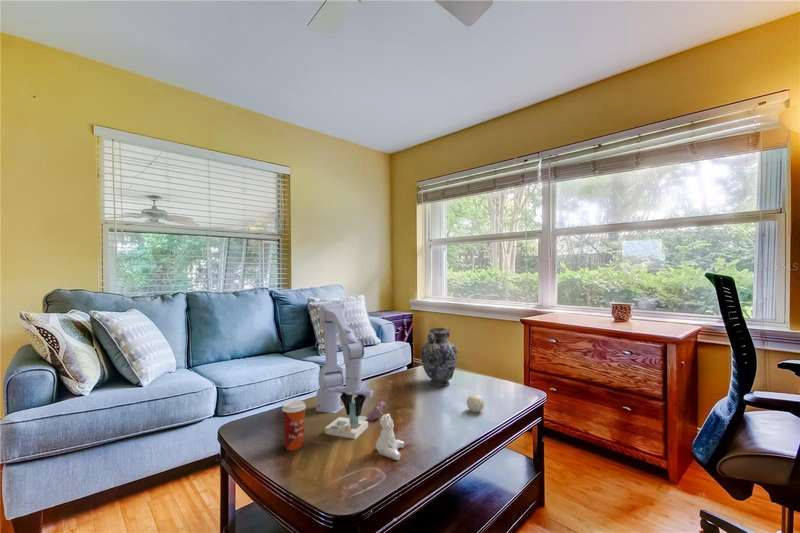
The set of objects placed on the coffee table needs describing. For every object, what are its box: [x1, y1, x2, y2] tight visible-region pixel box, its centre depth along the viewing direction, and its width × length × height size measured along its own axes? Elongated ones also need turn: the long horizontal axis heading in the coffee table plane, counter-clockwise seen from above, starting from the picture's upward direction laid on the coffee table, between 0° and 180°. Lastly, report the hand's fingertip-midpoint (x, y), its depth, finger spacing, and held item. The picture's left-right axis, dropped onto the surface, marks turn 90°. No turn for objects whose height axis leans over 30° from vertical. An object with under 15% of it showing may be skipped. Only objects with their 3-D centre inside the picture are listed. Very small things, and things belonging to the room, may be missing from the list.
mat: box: [358, 415, 368, 421], centre depth 136 cm, size 7×7×1 cm
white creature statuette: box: [375, 413, 405, 461], centre depth 112 cm, size 10×9×12 cm
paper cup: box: [281, 399, 307, 451], centre depth 116 cm, size 8×8×14 cm
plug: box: [348, 400, 358, 425], centre depth 126 cm, size 3×3×7 cm
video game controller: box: [366, 400, 387, 421], centre depth 139 cm, size 10×5×7 cm, turn 168°
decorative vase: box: [420, 327, 458, 388], centre depth 180 cm, size 21×19×28 cm
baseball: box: [466, 394, 485, 413], centre depth 143 cm, size 7×7×7 cm
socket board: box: [324, 416, 369, 440], centre depth 127 cm, size 12×10×3 cm
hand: (353, 414), depth 126 cm, fingers closed on plug, 3 cm apart
